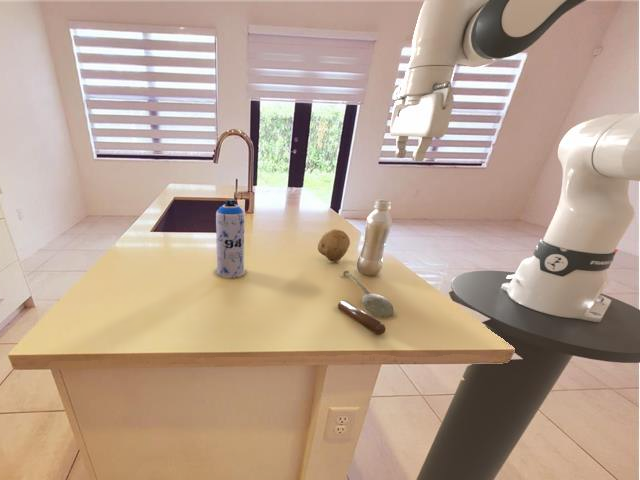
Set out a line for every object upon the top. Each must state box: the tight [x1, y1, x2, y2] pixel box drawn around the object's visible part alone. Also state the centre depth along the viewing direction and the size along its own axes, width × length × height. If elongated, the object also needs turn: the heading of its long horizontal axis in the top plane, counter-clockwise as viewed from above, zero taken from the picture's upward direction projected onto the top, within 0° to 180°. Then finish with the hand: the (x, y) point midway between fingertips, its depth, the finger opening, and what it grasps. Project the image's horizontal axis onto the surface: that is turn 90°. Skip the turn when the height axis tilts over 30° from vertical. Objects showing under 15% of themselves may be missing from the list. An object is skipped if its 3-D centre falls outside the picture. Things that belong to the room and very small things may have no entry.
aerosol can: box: [215, 199, 246, 279], centre depth 84 cm, size 8×8×20 cm
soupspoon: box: [342, 270, 395, 319], centre depth 77 cm, size 22×3×7 cm
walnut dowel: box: [337, 299, 387, 335], centre depth 66 cm, size 2×12×2 cm, turn 26°
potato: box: [317, 228, 351, 263], centre depth 95 cm, size 9×9×10 cm
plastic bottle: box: [356, 199, 393, 276], centre depth 84 cm, size 6×7×20 cm
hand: (407, 159), depth 71 cm, fingers open, 8 cm apart
